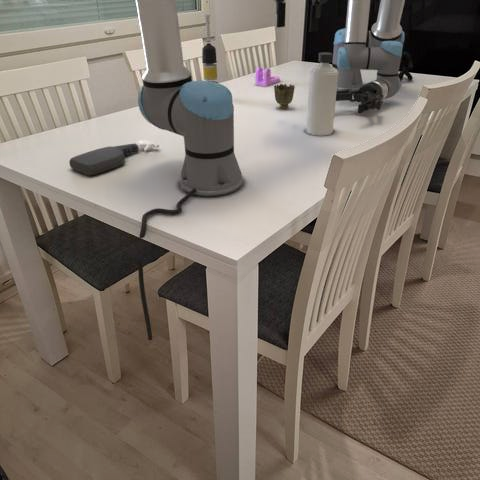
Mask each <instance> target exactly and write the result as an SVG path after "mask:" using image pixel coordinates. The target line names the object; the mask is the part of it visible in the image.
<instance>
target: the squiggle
mask: <svg viewBox="0 0 480 480" xmlns="http://www.w3.org/2000/svg"><path fill="white" fill-rule="evenodd" d="M401 58H402V59H401V61H400V67H399V70H401V71H399V72H398V77H399V79H400V81H401V82H402V81H403V79H404V76H406V78H407V80H408V81H412V80H413V79H414V77H413V75H412V74H411V73H410V72H409V71H410V70H412V69H413V68H414V64H413V61H412V57H411V54H410V53H409V52H408V51H403V52H402V57H401ZM406 62H407V65H408V66H407V67H405V66H404V65H405V64H406Z"/></svg>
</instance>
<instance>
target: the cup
mask: <svg viewBox="0 0 480 480" xmlns="http://www.w3.org/2000/svg"><path fill="white" fill-rule="evenodd" d="M295 88H296V87H295V85H294V84H291V83H290V84H289V85H287V83H284V84H283V83H280V84H276V85H274V86H273V91H274V99H275V102H276V103H277V104H278V108H279V109H281V110H287V109H289V106H290V104H291V103H292V102H293V100H294V93H295Z"/></svg>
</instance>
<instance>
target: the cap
mask: <svg viewBox="0 0 480 480" xmlns="http://www.w3.org/2000/svg"><path fill="white" fill-rule="evenodd" d="M332 61H333V53H332V52H327V51H323V52H319V53H318V57H317V62H318V63H319V64H320V63H329V64H330V63H332Z"/></svg>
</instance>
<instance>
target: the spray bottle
mask: <svg viewBox="0 0 480 480" xmlns="http://www.w3.org/2000/svg"><path fill="white" fill-rule="evenodd" d="M159 148H160V145H159V144H158V143H155V142H151V141H148V140H144V139H139V140H138V141H137V142H135V143H129V144H128V143H126V144H122V145H113V146H105V147H100V148H97V149H94V150H90V151H87V152H83V153H81V154H78V155H74V156H73V157H70V159H69V161H68V162H69V167H70V168H71V169H72V170H74V171H75V172H78V173H81V174H83V175H85V176H89V177H90V176H91V177H92V176H95V175H99V174H102V173H105V172H107V171H110V170H113V169H116V168H118V167H120V166H122V165H123V164H124V163H125V158H126V156H127V155H131V154H133V153H138V151H140V150H143V151H144V152H146V151H147V150H149V149H159Z"/></svg>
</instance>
